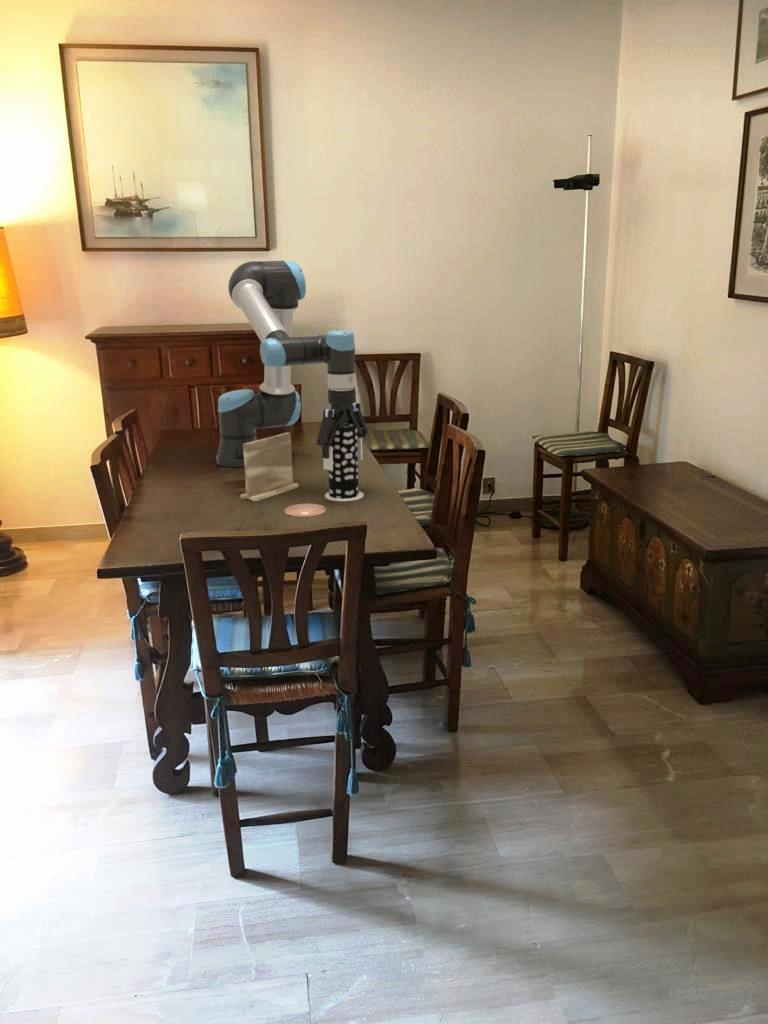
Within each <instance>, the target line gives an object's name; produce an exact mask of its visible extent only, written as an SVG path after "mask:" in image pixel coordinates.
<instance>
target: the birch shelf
mask: <svg viewBox="0 0 768 1024" xmlns="http://www.w3.org/2000/svg"><path fill="white" fill-rule="evenodd" d="M291 436H292V434H291V432H284V433H283V432H282V433H280V434H276V435H273V436H268V437H264V438H261V439H257V440H256V441H252V442H248V443H244V444H243V451H244V481H245V483H244V484H245V493H242V494H240V499H243V500H246V499H248V500H247V501H250V500H252V502H255V501H257V502H260V501H263V500H265V498H266V499H269V498H271V496H272V497H274V495H275V496H277V495H280V494H283V493H286V492H289V491H292V490H294V489H297V488H300V485H299V483H295V482H294V479H293V477H294V476H293V458H292V457H293V456H292V437H291ZM268 497H269V498H268ZM262 499H263V500H262ZM259 500H260V501H259Z"/></svg>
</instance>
